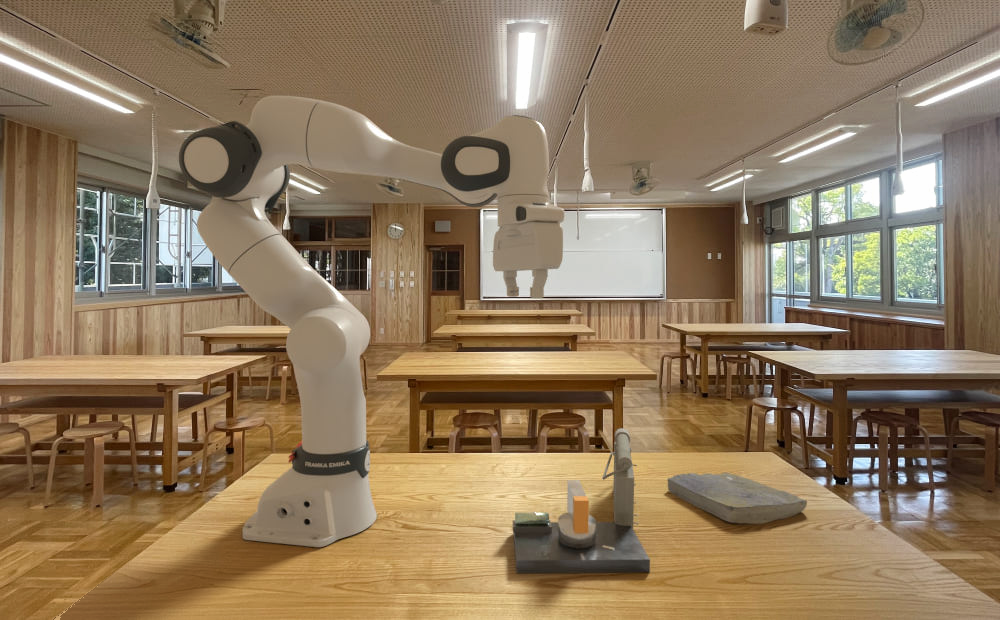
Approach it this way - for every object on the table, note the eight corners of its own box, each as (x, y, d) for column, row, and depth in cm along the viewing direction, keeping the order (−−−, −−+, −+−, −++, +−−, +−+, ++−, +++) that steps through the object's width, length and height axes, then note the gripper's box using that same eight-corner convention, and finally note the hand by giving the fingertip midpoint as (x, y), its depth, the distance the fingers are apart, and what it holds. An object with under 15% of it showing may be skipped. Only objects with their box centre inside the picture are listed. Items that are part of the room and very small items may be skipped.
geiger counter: (641, 460, 86) (633, 420, 111) (602, 457, 88) (603, 419, 112) (639, 541, 87) (632, 484, 112) (601, 537, 89) (602, 481, 113)
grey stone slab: (723, 482, 115) (661, 489, 109) (725, 462, 115) (663, 468, 108) (806, 524, 97) (737, 535, 90) (809, 500, 96) (740, 510, 90)
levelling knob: (555, 526, 87) (555, 480, 86) (590, 526, 87) (591, 479, 86) (561, 552, 79) (562, 500, 78) (600, 551, 79) (601, 500, 78)
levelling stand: (515, 573, 77) (515, 541, 77) (512, 533, 89) (512, 505, 89) (649, 572, 77) (650, 540, 77) (628, 533, 89) (629, 504, 89)
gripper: (484, 222, 96) (485, 296, 97) (533, 207, 77) (534, 299, 78) (514, 223, 98) (515, 295, 99) (570, 209, 79) (570, 298, 80)
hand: (524, 297), depth 88 cm, fingers open, 8 cm apart
